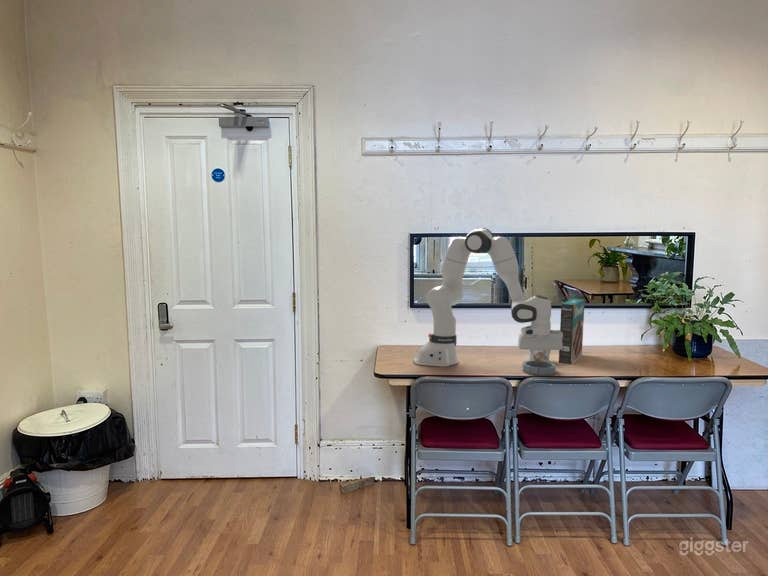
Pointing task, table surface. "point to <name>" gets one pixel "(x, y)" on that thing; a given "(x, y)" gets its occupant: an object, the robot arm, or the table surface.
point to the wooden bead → (539, 357)
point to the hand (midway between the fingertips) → (539, 358)
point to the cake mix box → (571, 330)
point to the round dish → (539, 368)
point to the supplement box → (539, 351)
